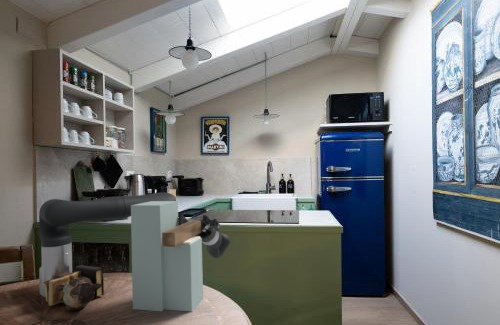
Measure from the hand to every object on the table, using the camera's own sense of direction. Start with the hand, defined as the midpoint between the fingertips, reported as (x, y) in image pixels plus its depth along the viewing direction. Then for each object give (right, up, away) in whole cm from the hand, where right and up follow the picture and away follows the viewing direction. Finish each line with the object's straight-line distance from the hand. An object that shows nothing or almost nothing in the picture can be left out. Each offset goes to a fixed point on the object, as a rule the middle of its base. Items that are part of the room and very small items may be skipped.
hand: (191, 217), depth 105 cm
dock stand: (-6, -27, -5) cm, 28 cm away
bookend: (-36, -28, -4) cm, 45 cm away
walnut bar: (-2, -6, -5) cm, 8 cm away
